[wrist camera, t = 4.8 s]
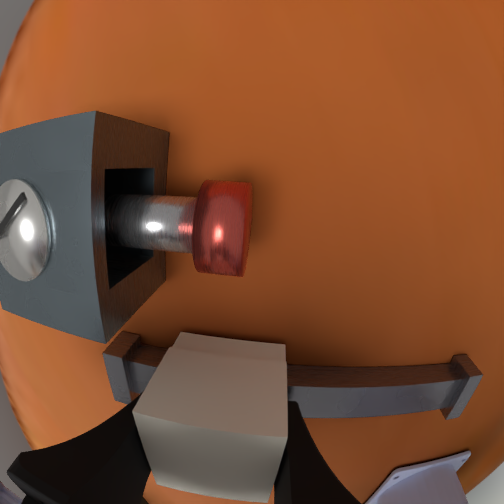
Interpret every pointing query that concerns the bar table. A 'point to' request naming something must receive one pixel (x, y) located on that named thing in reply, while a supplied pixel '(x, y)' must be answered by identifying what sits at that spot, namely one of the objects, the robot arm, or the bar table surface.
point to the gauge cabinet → (76, 221)
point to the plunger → (187, 225)
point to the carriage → (216, 417)
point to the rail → (324, 383)
